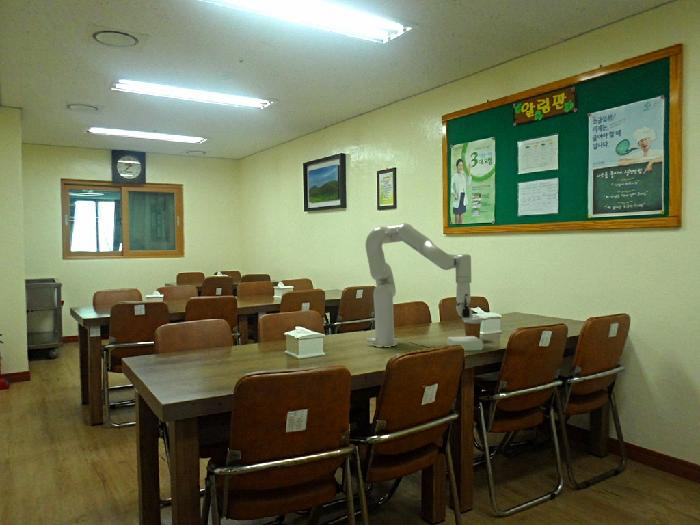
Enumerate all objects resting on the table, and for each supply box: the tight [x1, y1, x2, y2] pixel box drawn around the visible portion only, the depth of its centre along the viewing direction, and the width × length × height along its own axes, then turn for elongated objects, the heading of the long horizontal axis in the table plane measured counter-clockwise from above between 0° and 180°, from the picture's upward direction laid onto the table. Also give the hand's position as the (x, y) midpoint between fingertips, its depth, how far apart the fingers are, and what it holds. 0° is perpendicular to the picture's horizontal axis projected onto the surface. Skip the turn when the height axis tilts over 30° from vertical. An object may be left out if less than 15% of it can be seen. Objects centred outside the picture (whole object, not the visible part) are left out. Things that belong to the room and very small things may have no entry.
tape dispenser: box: [455, 302, 474, 322], centre depth 259 cm, size 6×7×10 cm
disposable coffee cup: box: [463, 316, 483, 339], centre depth 275 cm, size 10×10×12 cm
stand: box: [446, 335, 484, 351], centre depth 260 cm, size 14×14×4 cm
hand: (464, 316), depth 259 cm, fingers closed on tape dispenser, 6 cm apart
